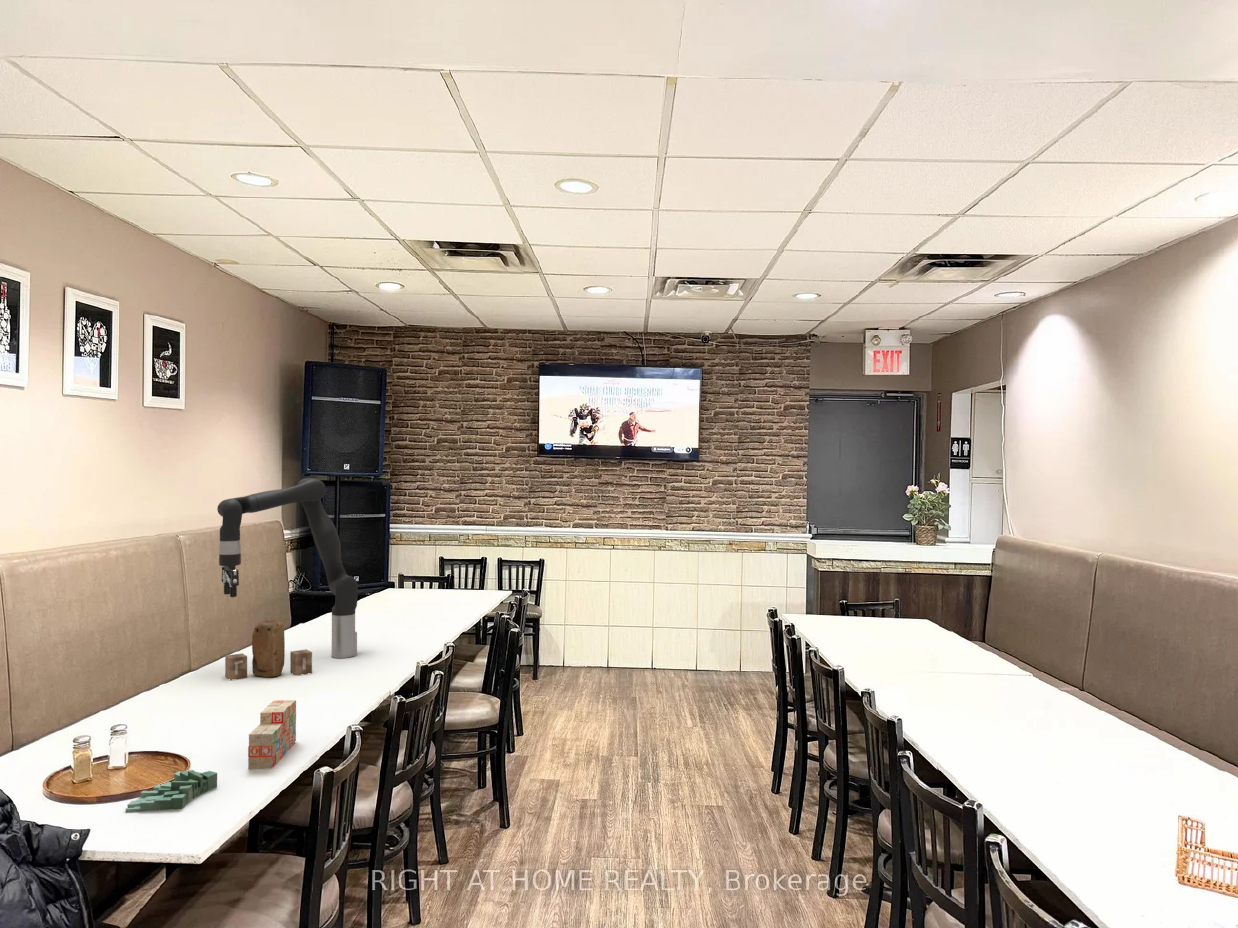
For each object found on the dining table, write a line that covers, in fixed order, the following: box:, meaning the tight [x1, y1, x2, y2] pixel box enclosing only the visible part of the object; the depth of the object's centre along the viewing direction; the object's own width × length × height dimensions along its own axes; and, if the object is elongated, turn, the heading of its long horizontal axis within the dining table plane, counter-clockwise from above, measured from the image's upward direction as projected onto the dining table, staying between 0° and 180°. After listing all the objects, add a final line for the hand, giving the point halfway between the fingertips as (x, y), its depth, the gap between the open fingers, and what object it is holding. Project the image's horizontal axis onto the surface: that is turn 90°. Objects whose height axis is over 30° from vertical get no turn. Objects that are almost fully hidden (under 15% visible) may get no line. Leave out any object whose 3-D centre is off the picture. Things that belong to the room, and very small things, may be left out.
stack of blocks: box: [247, 699, 297, 770], centre depth 230 cm, size 21×6×12 cm, turn 5°
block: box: [251, 619, 286, 678], centre depth 315 cm, size 11×8×20 cm
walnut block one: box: [289, 648, 313, 676], centre depth 319 cm, size 6×6×8 cm
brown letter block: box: [224, 652, 248, 681], centre depth 312 cm, size 6×6×8 cm
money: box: [125, 769, 218, 813], centre depth 203 cm, size 20×16×5 cm
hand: (230, 595), depth 318 cm, fingers open, 8 cm apart
